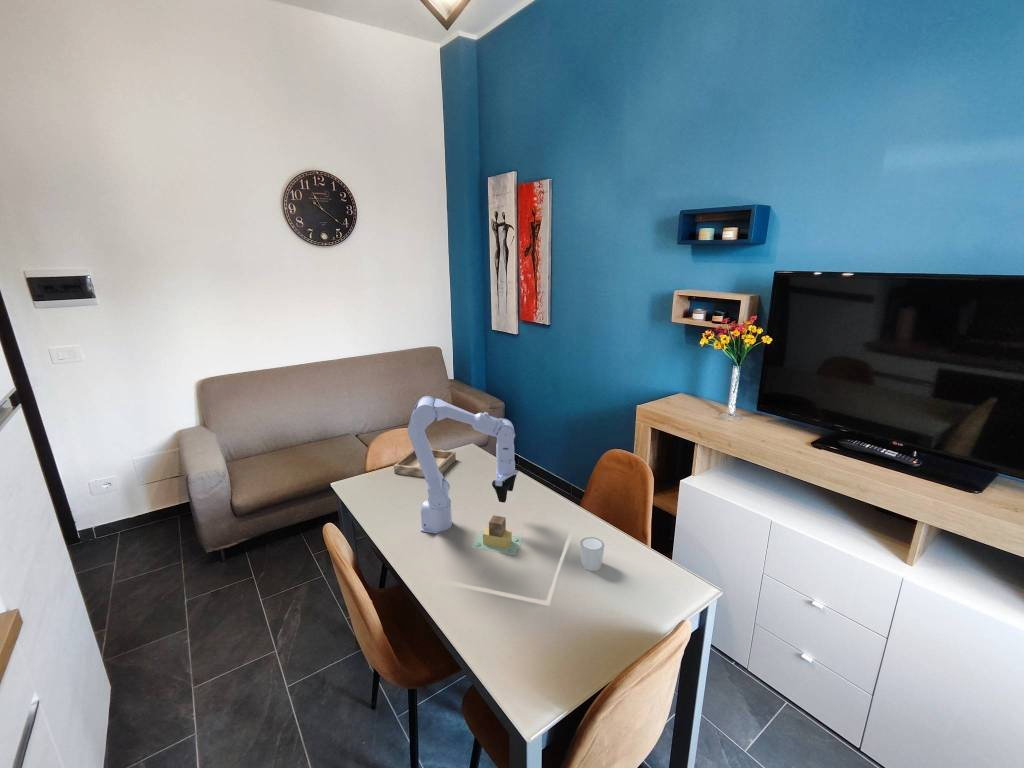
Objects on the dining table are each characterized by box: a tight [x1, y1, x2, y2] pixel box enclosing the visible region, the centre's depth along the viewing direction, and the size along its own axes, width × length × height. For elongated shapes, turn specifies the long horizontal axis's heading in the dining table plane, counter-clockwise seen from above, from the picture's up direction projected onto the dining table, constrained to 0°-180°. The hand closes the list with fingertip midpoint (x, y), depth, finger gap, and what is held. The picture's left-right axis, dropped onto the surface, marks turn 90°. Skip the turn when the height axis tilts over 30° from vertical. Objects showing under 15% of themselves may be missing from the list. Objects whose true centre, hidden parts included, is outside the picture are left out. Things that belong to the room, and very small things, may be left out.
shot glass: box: [579, 536, 605, 572], centre depth 135 cm, size 7×7×7 cm
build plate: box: [470, 530, 524, 556], centre depth 145 cm, size 14×9×1 cm, turn 73°
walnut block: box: [488, 514, 507, 537], centre depth 144 cm, size 4×4×4 cm
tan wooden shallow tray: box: [393, 448, 457, 479], centre depth 199 cm, size 19×19×4 cm
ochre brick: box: [483, 526, 513, 549], centre depth 145 cm, size 8×4×4 cm, turn 73°
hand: (505, 495), depth 154 cm, fingers open, 7 cm apart
